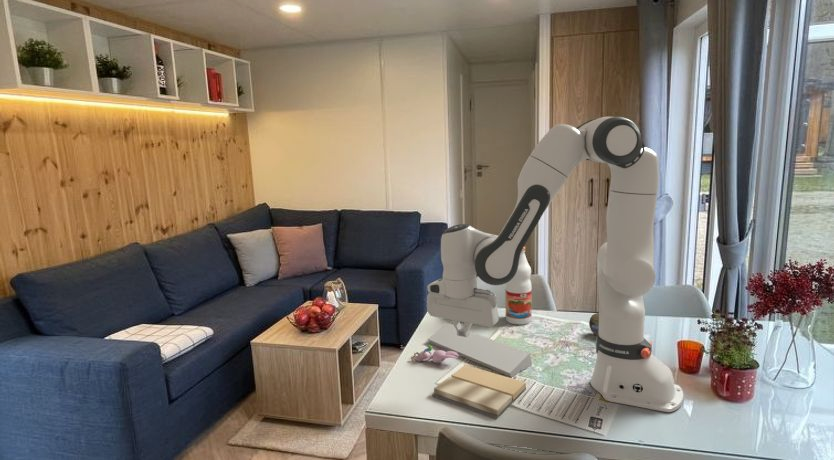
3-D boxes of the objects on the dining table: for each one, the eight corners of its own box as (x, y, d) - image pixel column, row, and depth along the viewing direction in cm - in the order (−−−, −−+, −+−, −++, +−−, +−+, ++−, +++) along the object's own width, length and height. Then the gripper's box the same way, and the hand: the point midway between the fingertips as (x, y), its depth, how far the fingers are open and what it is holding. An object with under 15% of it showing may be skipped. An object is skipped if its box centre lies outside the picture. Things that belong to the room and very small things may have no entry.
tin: (588, 334, 164) (589, 310, 163) (593, 331, 166) (594, 308, 165) (631, 347, 153) (632, 322, 151) (636, 344, 155) (637, 319, 153)
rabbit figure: (410, 367, 148) (456, 366, 142) (406, 349, 147) (453, 347, 142) (417, 359, 154) (462, 357, 148) (414, 341, 153) (458, 339, 147)
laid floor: (526, 389, 130) (526, 381, 130) (496, 419, 117) (496, 411, 117) (465, 371, 142) (465, 364, 141) (432, 396, 128) (432, 389, 128)
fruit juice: (526, 315, 183) (527, 243, 178) (534, 324, 174) (535, 249, 169) (502, 316, 183) (502, 244, 177) (509, 326, 174) (509, 250, 168)
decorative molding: (512, 386, 138) (532, 366, 144) (509, 373, 136) (529, 353, 142) (430, 350, 163) (450, 334, 169) (427, 339, 161) (447, 323, 167)
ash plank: (511, 401, 124) (511, 396, 123) (497, 415, 118) (497, 409, 117) (449, 381, 135) (449, 376, 135) (434, 393, 129) (434, 388, 129)
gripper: (501, 287, 122) (504, 338, 125) (435, 278, 135) (438, 325, 137) (489, 294, 117) (492, 347, 120) (422, 285, 130) (425, 333, 132)
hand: (463, 335), depth 129 cm, fingers closed
